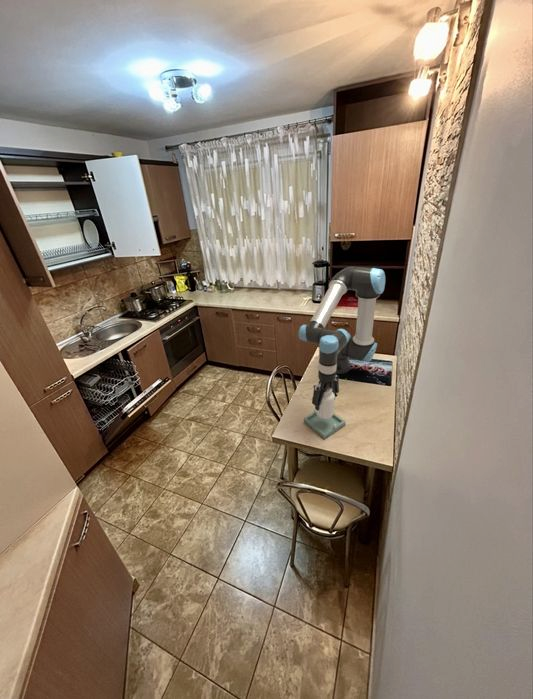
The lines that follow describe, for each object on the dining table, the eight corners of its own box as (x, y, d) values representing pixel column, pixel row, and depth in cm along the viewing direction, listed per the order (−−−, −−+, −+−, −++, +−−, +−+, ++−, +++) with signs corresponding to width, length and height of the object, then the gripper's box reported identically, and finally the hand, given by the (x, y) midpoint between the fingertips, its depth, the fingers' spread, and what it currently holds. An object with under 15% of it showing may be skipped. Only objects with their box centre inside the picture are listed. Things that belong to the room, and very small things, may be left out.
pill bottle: (322, 421, 127) (323, 396, 120) (313, 411, 134) (313, 386, 126) (336, 416, 130) (339, 390, 123) (326, 405, 136) (328, 381, 129)
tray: (323, 409, 144) (324, 402, 142) (345, 425, 134) (346, 418, 131) (303, 422, 137) (303, 415, 135) (324, 439, 127) (325, 432, 125)
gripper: (337, 358, 127) (334, 396, 139) (303, 375, 117) (303, 415, 129) (350, 365, 122) (345, 404, 133) (315, 383, 112) (314, 424, 123)
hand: (324, 409), depth 131 cm, fingers closed on pill bottle, 8 cm apart
